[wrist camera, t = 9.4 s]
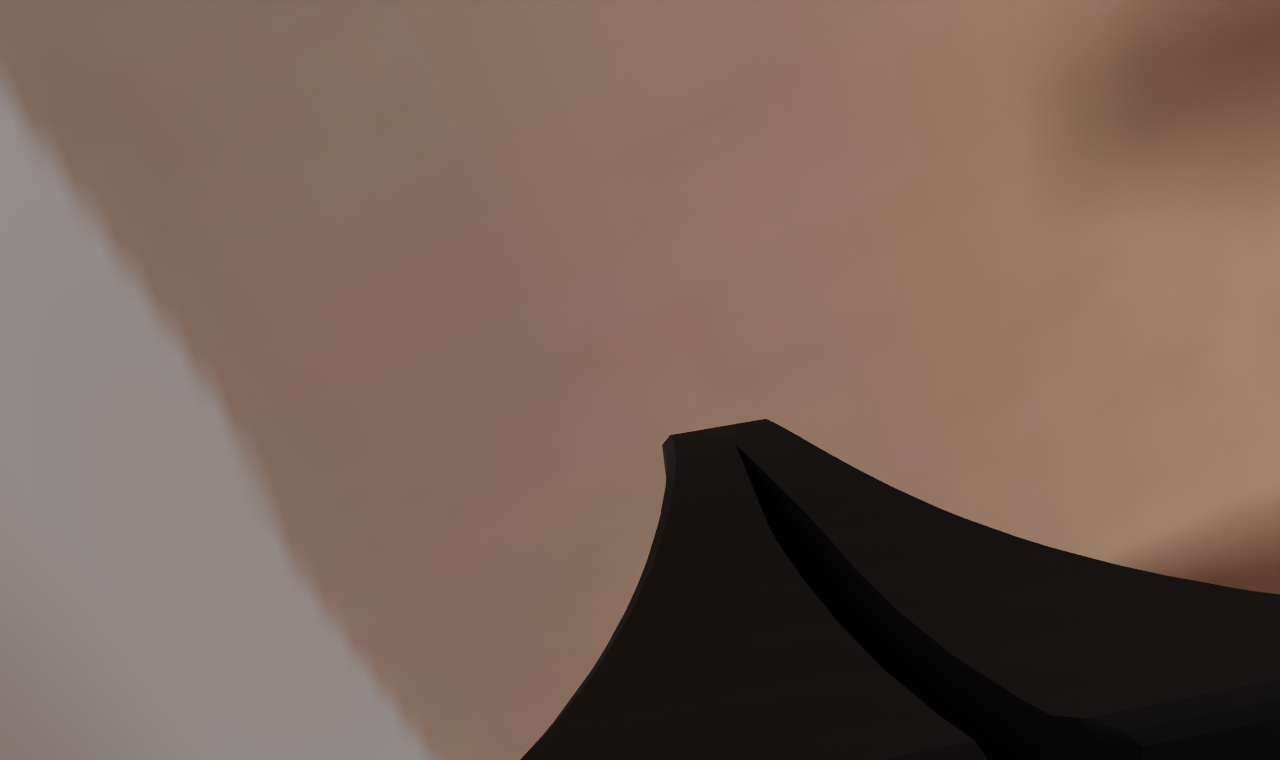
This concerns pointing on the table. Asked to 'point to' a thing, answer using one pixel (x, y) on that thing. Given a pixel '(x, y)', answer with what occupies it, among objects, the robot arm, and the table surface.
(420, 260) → the table surface
